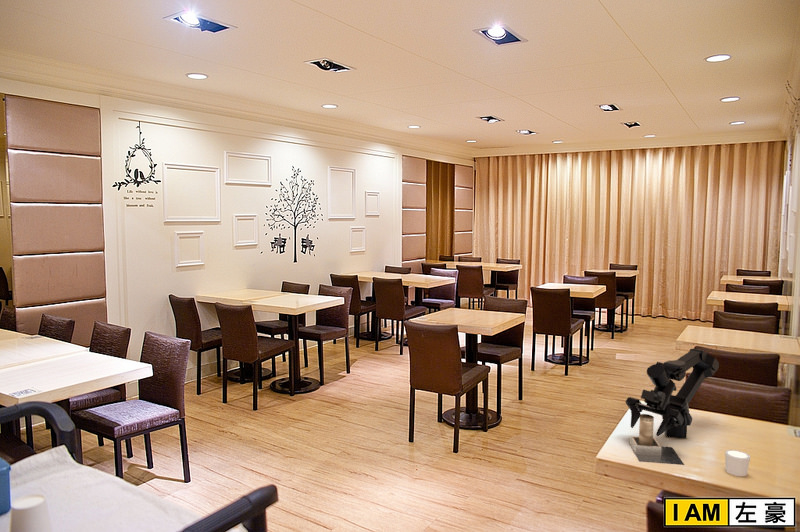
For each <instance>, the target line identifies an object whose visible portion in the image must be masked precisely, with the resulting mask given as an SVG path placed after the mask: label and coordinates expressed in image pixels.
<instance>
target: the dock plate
mask: <svg viewBox="0 0 800 532" xmlns="http://www.w3.org/2000/svg"><path fill="white" fill-rule="evenodd" d="M629 441H630V442H629V446H630V447H631V449H632V451H633V452H634V455H635V457H636V458H637V460H638V462H640V463H650V464H651V463H654V464H664V465H665V464H667V465H677V466H678V465H679V466H680V465H681V466H685V463H684V461H683V460H682V459H681V458H680V456H679V455H678V454H677V452H676V451H675V449H674V448H673V446H662V445H661V444H660V443H659V441H658V440H657V438H656V437H653V446H645V445H639V436H635V435H634V436H632V435H630V440H629Z"/></svg>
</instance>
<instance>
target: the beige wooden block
mask: <svg viewBox="0 0 800 532" xmlns="http://www.w3.org/2000/svg"><path fill="white" fill-rule="evenodd" d="M640 414H641V413H640ZM654 420H655V417H654V416H653V415H651V414H647V413H642V414H641V415H640V417H639V424H638V427H639V429H638V432H639V433H638V437H639V445H645V446H653V438H654Z"/></svg>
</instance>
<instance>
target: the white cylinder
mask: <svg viewBox="0 0 800 532" xmlns="http://www.w3.org/2000/svg"><path fill="white" fill-rule="evenodd" d="M724 459H725V462H724V464H725V471H726V472H727V474H728V475H732V476H735V477H742V478H743V477H747V475H748V473H749V472H748V471H749V465H750V460H751V456H750V454H748V453H747V452H744V451H741V450H738V449H737V450H736V449H728V450H727V449H726V450H725V451H724Z"/></svg>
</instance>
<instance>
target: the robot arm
mask: <svg viewBox="0 0 800 532" xmlns="http://www.w3.org/2000/svg"><path fill="white" fill-rule="evenodd" d="M719 367H720V362H719V360H718V359H717V358H715V357H714V356H712V355H710V354H709V353H707V351H706V350H703V349H698V348H694V347H693V348H691V349H690V350H689V351H688V352H687V353H685V354H683V355H682V356H680V357H679V358H677V359H675V360H667V361H664V362H661V361H656V363H655V364H652V365H650V366H648V367H647V369H646V374H647V376H648V378H649V380H650V381H651V382H652V384H653V385H654V388H653V389H651V390H647V389H643V390H642V392H641V395H640V399H641V400H642V399H643V402H644V403H645V404H644V403H642V402H641V400H640V399H639V398H635V397H632V396H628V397H627V398H626V399H625V402H624V403H625V404H626V405H627V407H628V408H629V410H630V415H631V417H630V428H632V429H633V428H634V427H635V426H636V425H637V422H638V421H639V420H640V415H641V413H642V412H643V411H646V412H648V413H649V412H650V413H652V414H655V415H659V416H661V417H662V420H661V422H660V425H659V427H658V428H657V430H656V434H655V435H656V437H660V436H661V435H663V434H664V435H665V437H666V438H673V439H674V438H675V439H687V437H688V436H687V431H688V426H689V427H690V426H691V424H692V423H693V417H692V415H691V413H690V408H689V404H690V402H691V401H692V400H693V398H694V396H695V395H696V393H697V392H698V390H699V388H700V387H701V386H702V384H703V382H704V381H705V379H707V378H710V377H712V376H714V375H715V374H716V373H717V371H718V370H719ZM691 368H692V370H691V372H690V374H689V375H688V377H687V379H686V380H685V381H684V383H683V385H682V386H681V388H679V390H678V392H677V393H676V395H673V393H674V391H675V392H676V391H677V386H676V383H675V382H674V381H677V382H681V381H682V380H683V379H684V378H685V377H686V376H687V371H688V370H690V369H691Z"/></svg>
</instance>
